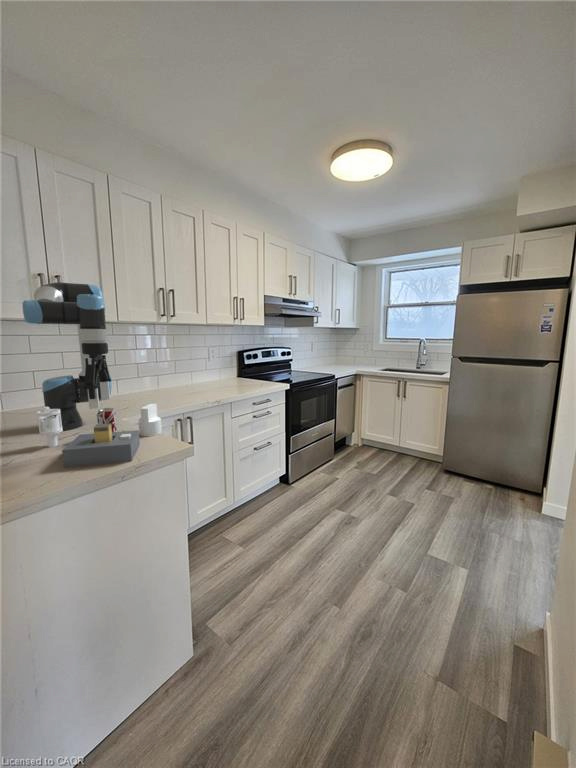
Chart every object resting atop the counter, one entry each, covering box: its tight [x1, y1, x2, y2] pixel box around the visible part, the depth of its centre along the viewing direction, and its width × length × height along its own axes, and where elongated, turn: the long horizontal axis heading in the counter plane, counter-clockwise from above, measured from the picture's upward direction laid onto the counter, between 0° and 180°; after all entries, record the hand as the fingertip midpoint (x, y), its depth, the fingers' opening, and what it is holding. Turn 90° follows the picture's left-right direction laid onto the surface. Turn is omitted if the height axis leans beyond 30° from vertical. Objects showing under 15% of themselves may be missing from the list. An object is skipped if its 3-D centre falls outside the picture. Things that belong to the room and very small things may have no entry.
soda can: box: [96, 407, 118, 432], centre depth 129 cm, size 7×7×12 cm
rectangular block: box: [93, 423, 113, 443], centre depth 110 cm, size 4×4×10 cm
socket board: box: [61, 429, 141, 468], centre depth 110 cm, size 16×20×7 cm
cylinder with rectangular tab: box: [138, 403, 163, 437], centre depth 135 cm, size 9×9×12 cm
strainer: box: [36, 406, 63, 448], centre depth 119 cm, size 7×7×15 cm
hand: (100, 403), depth 108 cm, fingers open, 13 cm apart
